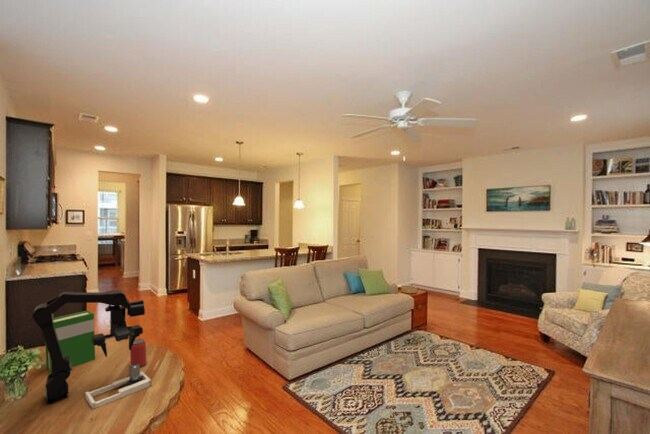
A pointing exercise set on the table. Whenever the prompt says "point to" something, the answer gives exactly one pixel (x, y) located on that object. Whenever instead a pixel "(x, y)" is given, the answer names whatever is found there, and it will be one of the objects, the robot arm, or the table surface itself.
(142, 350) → the beer can
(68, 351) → the hardback book
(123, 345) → the table surface
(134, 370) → the dark grey rounded piece
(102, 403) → the keyhole dock
